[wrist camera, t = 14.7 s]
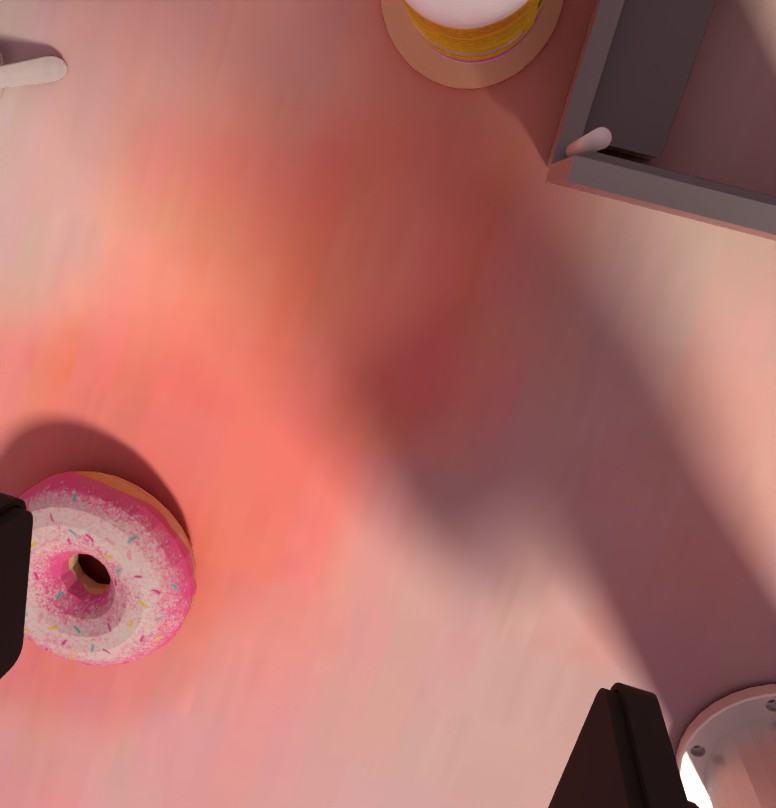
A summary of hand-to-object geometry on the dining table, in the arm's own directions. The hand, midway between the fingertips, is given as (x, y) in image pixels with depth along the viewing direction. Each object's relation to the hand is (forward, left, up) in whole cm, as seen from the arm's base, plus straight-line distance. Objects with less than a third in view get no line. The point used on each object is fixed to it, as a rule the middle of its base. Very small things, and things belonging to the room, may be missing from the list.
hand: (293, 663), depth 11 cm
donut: (+18, +22, -31) cm, 41 cm away
